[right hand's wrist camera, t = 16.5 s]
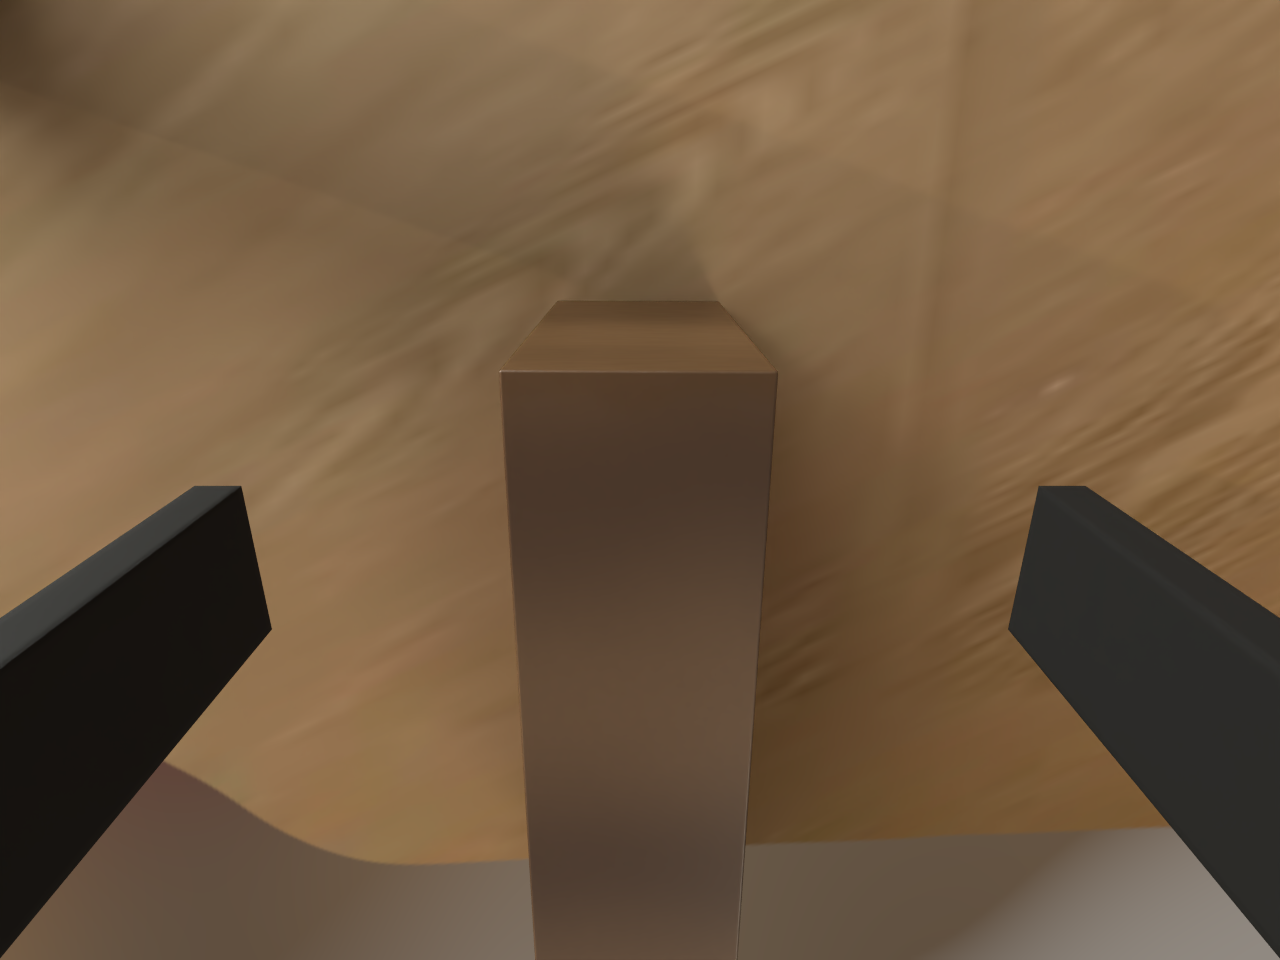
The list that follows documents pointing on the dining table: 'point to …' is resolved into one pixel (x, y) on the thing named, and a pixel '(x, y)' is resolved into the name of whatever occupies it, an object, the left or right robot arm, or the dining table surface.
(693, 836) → the box
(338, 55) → the dining table surface
